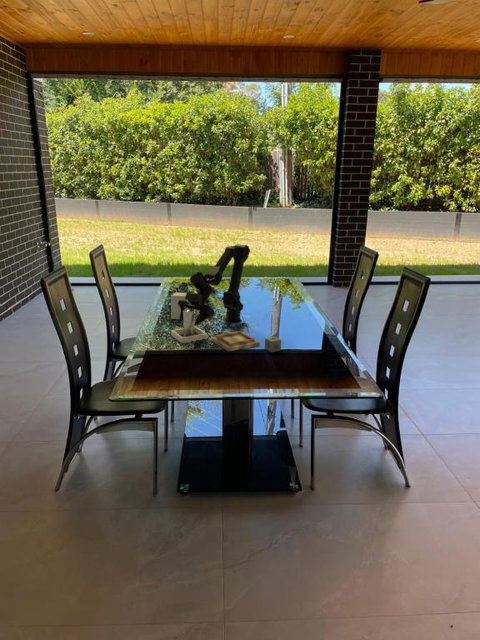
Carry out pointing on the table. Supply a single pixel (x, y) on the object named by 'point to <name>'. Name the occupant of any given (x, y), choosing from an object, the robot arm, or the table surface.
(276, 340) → the dice cube
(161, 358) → the table surface
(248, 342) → the tray
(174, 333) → the frame
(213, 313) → the robot arm
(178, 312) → the supplement box
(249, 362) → the table surface
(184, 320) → the disc
